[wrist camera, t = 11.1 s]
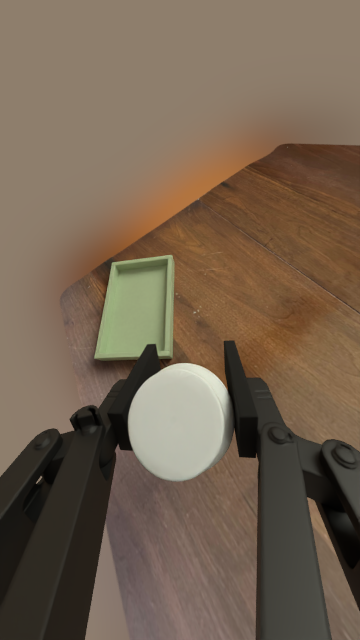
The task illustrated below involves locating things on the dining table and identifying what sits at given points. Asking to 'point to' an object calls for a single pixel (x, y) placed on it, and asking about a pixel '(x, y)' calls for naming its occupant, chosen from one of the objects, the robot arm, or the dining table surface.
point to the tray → (138, 309)
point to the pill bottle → (181, 422)
